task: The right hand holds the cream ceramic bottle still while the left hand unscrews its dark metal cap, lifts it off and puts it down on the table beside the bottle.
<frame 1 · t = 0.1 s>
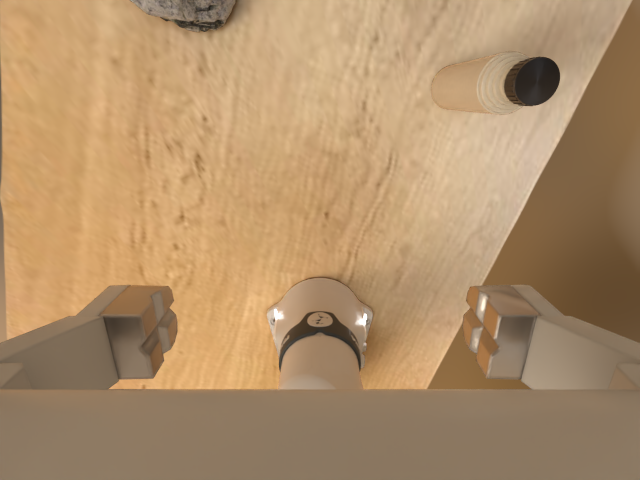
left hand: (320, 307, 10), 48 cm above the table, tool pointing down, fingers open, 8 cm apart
bottle: (451, 87, 52), on the table
cap: (535, 81, 32), point 22 cm above the table, screwed on, not yet turned
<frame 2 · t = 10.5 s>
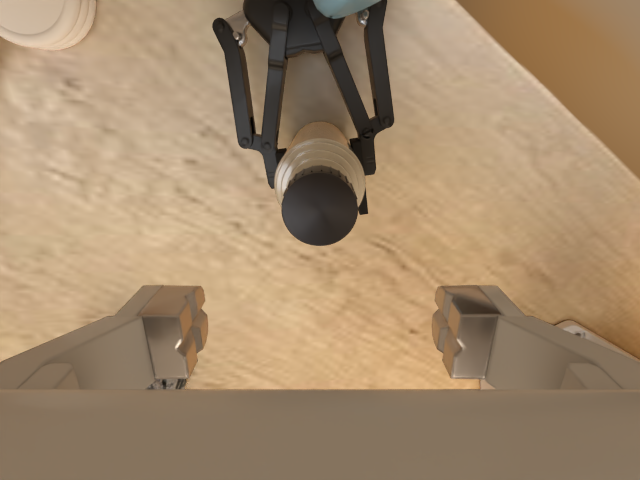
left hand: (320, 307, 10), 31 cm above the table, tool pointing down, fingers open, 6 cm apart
right hand: (327, 214, 35), fingers closed on bottle, 6 cm apart
bottle: (319, 150, 39), on the table, touching right hand
rock: (143, 378, 50), on the table
cap: (319, 209, 19), point 22 cm above the table, screwed on, not yet turned
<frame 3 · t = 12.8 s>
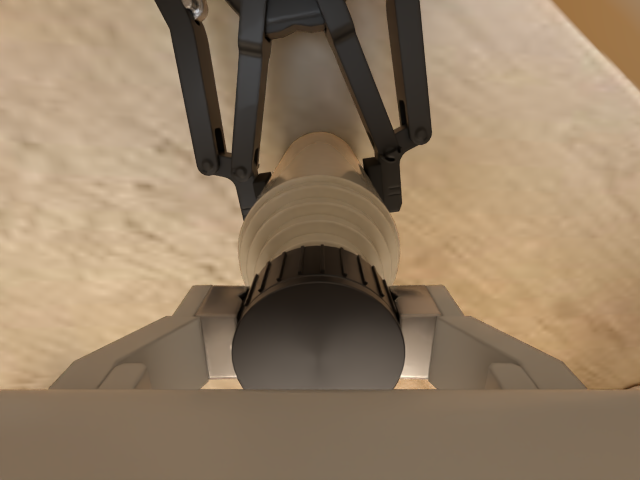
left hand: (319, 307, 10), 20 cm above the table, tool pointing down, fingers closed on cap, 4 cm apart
bottle: (319, 170, 29), on the table, touching right hand
cap: (318, 350, 8), point 22 cm above the table, screwed on, not yet turned, touching left hand
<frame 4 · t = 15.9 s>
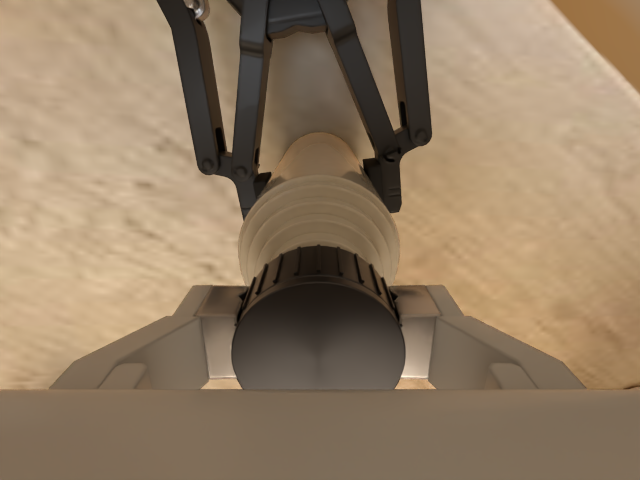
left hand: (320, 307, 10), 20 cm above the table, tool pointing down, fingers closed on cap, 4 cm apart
bottle: (319, 171, 29), on the table, touching right hand
cap: (318, 351, 8), point 22 cm above the table, turned 75° so far, risen 0.1 cm, still on its thread, touching left hand
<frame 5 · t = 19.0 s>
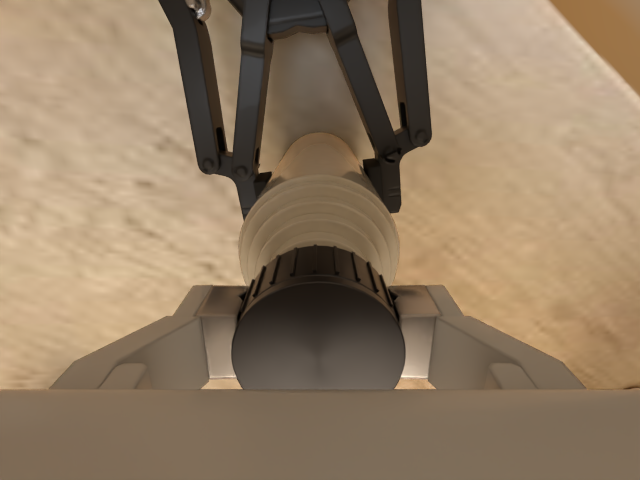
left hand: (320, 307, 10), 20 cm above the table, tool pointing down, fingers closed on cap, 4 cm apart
bottle: (319, 171, 29), on the table, touching right hand
cap: (318, 350, 8), point 22 cm above the table, turned 150° so far, risen 0.1 cm, still on its thread, touching left hand
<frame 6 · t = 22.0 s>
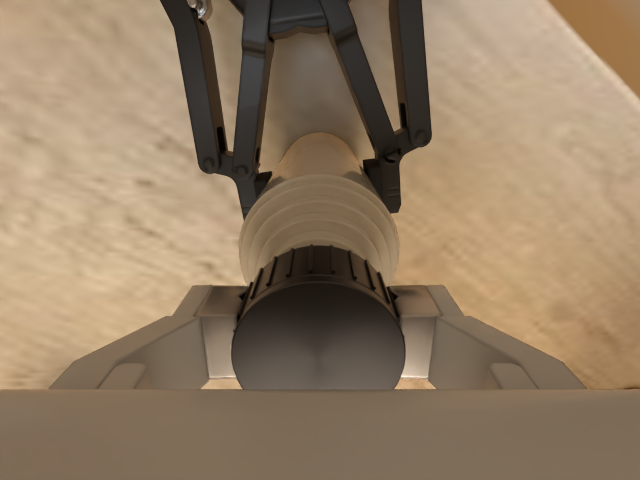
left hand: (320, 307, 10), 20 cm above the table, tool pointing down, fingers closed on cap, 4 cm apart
bottle: (319, 171, 29), on the table, touching right hand
cap: (318, 350, 8), point 22 cm above the table, turned 225° so far, risen 0.2 cm, still on its thread, touching left hand
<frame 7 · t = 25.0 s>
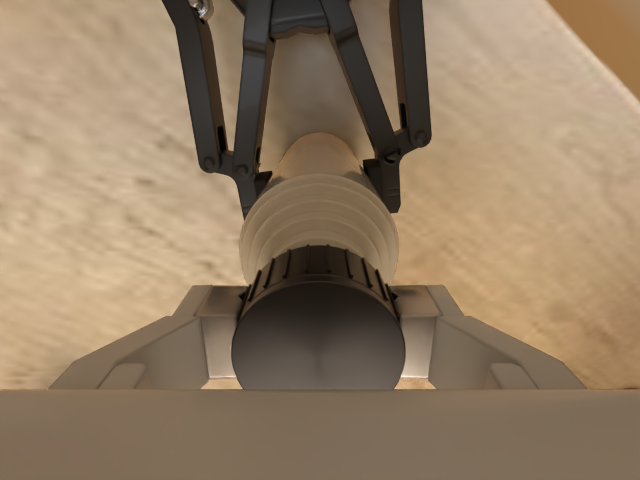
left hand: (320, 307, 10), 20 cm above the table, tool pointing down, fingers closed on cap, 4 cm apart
bottle: (319, 171, 29), on the table, touching right hand
cap: (318, 350, 8), point 22 cm above the table, turned 299° so far, risen 0.3 cm, still on its thread, touching left hand
when the left hand's fingers open (2 cm above the table, at t = 34.9 s): cap drops 2 cm, point 2 cm above the table.
when the right hand's fingers open (6 cm above the table, at t = 36.0 s): bottle stays where it is, on the table.
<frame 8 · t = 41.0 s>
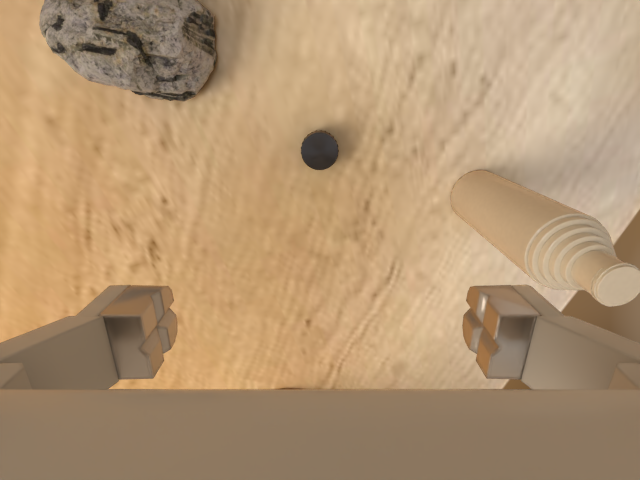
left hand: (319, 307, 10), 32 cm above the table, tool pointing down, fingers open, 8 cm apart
bottle: (476, 195, 42), on the table
rock: (144, 34, 36), on the table
cap: (319, 151, 39), point 2 cm above the table, off its thread
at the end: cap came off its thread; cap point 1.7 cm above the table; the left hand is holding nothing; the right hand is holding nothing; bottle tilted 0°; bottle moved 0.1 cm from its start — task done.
